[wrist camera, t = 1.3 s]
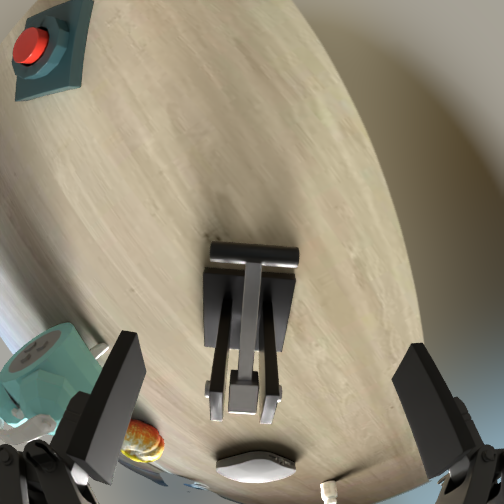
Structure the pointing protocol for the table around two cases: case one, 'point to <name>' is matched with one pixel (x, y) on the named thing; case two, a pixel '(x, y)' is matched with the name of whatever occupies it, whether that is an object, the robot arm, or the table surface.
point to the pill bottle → (329, 492)
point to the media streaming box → (256, 467)
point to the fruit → (142, 442)
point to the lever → (249, 311)
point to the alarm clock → (45, 382)
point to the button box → (56, 51)
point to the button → (30, 45)
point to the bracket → (229, 328)
